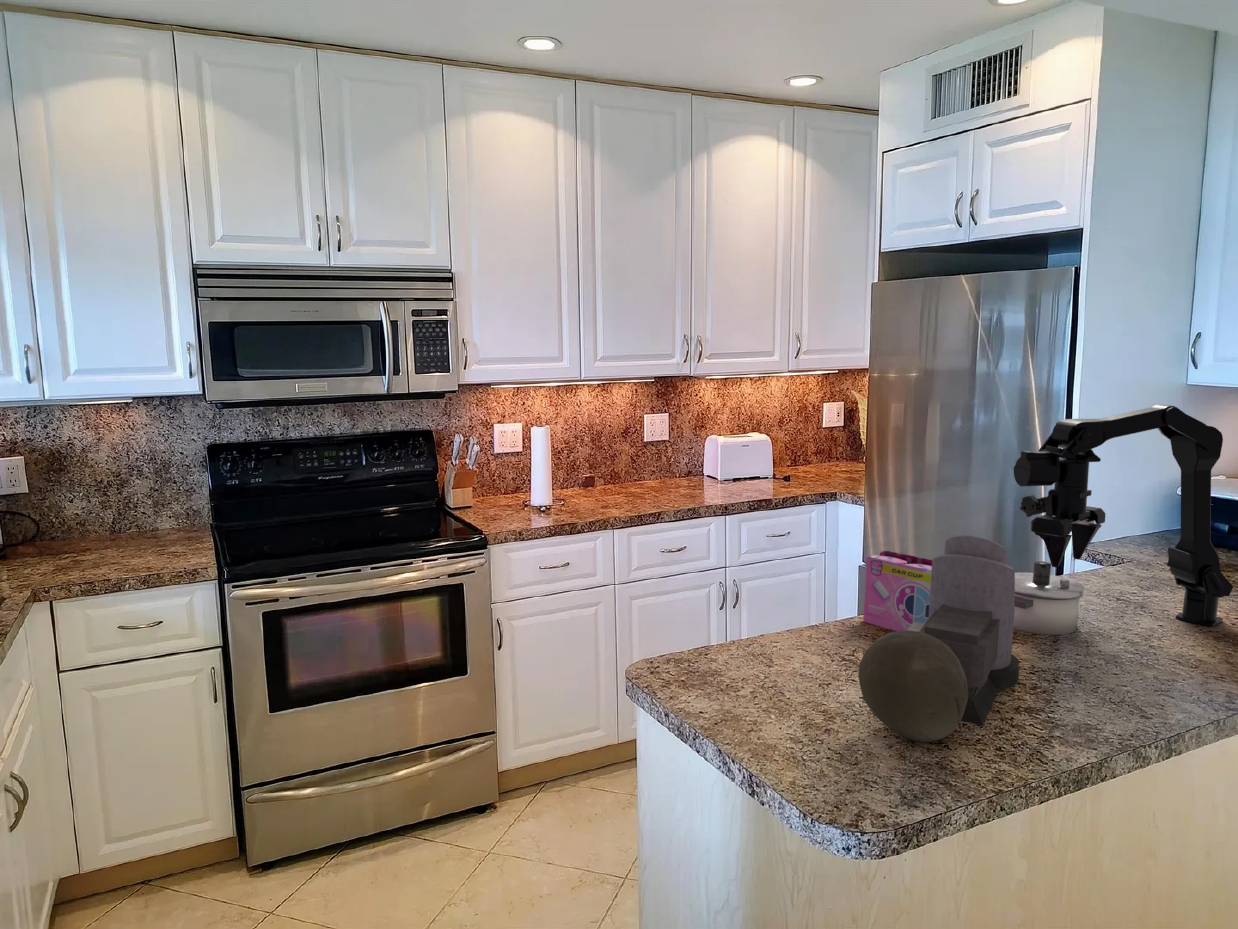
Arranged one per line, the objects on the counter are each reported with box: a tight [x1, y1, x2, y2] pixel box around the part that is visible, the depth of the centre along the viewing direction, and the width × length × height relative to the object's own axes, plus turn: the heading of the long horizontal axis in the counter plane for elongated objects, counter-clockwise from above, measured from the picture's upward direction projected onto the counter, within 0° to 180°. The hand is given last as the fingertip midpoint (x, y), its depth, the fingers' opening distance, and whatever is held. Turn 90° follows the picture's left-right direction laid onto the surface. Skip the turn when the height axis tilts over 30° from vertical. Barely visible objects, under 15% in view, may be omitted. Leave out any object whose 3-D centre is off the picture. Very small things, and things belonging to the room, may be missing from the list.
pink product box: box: [862, 550, 932, 632], centre depth 162 cm, size 24×8×14 cm, turn 43°
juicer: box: [907, 534, 1020, 726], centre depth 137 cm, size 30×16×24 cm, turn 148°
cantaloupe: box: [858, 631, 968, 743], centre depth 118 cm, size 14×14×15 cm
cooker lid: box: [1015, 560, 1085, 600], centre depth 167 cm, size 15×15×5 cm
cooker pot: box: [1013, 594, 1081, 636], centre depth 168 cm, size 19×14×7 cm
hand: (1066, 562), depth 167 cm, fingers open, 9 cm apart
